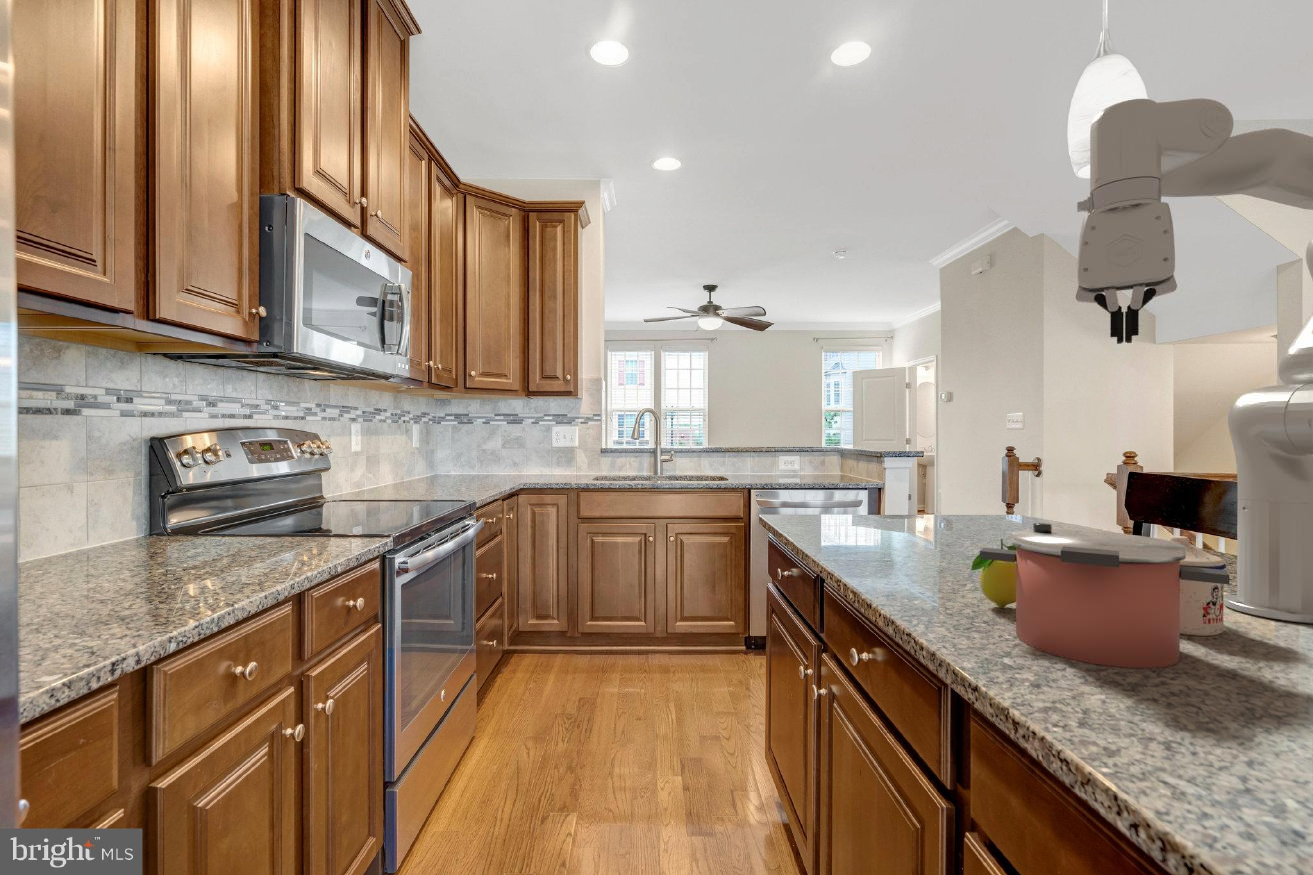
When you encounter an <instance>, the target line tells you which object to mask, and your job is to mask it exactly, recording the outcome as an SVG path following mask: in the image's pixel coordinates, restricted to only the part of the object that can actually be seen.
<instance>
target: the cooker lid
mask: <svg viewBox="0 0 1313 875" xmlns="http://www.w3.org/2000/svg"><path fill="white" fill-rule="evenodd" d="M1032 524H1033V526H1032V527H1033V529H1023V530H1021V529H1020V530H1016V531H1013V532H1012V533H1011V544H1012V545H1014V546H1016V547H1019V548H1022V549H1026V550H1030V551H1035V552H1040V553H1045V554H1052V555H1058V556H1061V562H1069V563H1080V564H1090V565H1100V566H1110V567H1119V561H1120V562H1147V563H1156V562H1175V561H1181V560H1184V559H1186V546H1184V545H1183V544H1180V543H1177V542H1173V541H1169V539H1167V540H1166V539H1163V538H1162V539H1161V538H1157V537H1151V536H1143V535H1135V534H1134V535H1133V534H1128V533H1120V532H1119V533H1117V532H1109V531H1108V532H1106V531H1097V530H1096V531H1094V530H1079V529H1078V530H1077V529H1053V528H1052V524H1051V523H1044V522H1035V523H1032Z"/></svg>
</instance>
